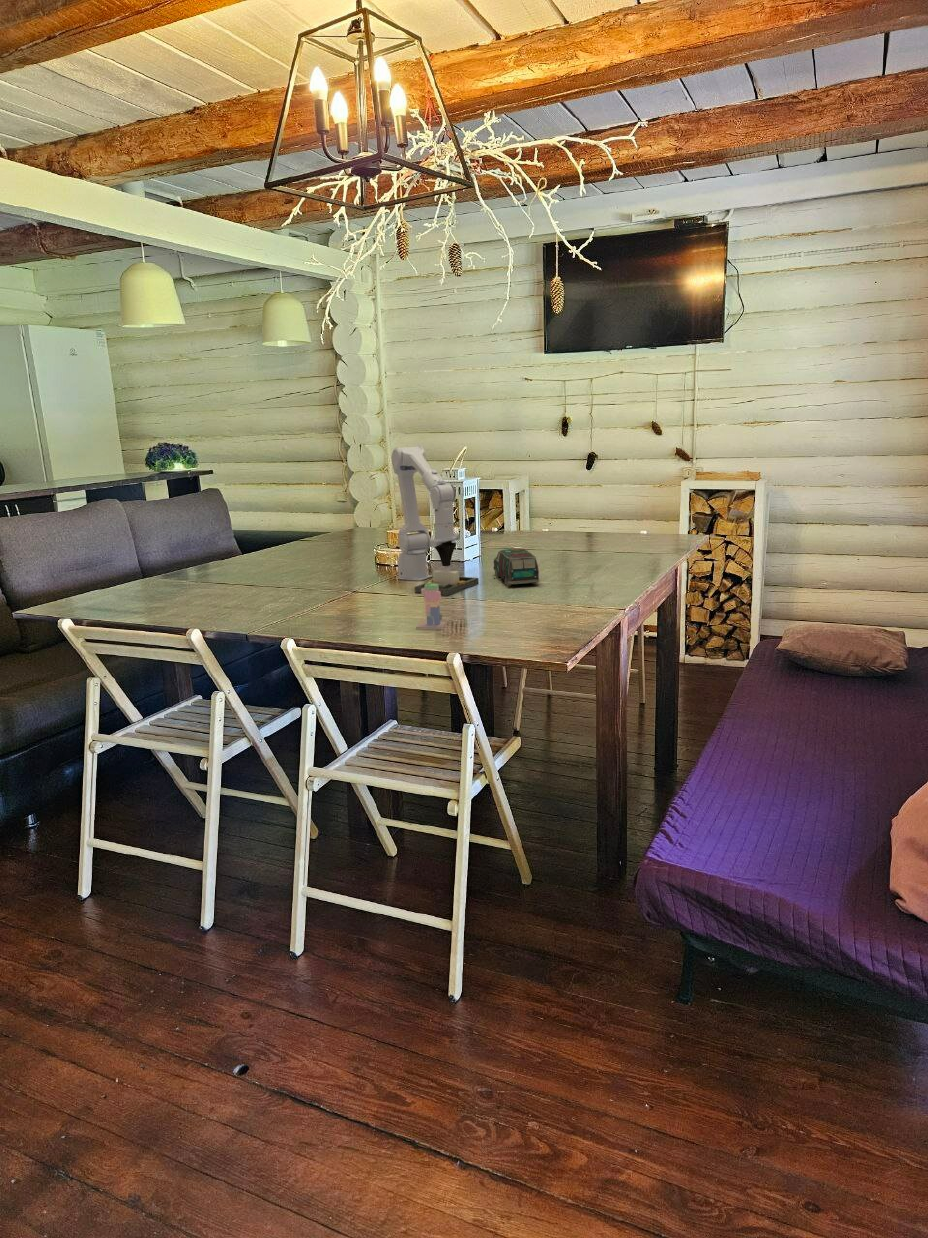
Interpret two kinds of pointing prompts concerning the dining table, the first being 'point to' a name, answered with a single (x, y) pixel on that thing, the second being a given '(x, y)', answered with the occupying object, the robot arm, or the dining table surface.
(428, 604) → the figurine
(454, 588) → the rack
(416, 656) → the dining table surface
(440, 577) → the tall cream block
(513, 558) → the toy van
